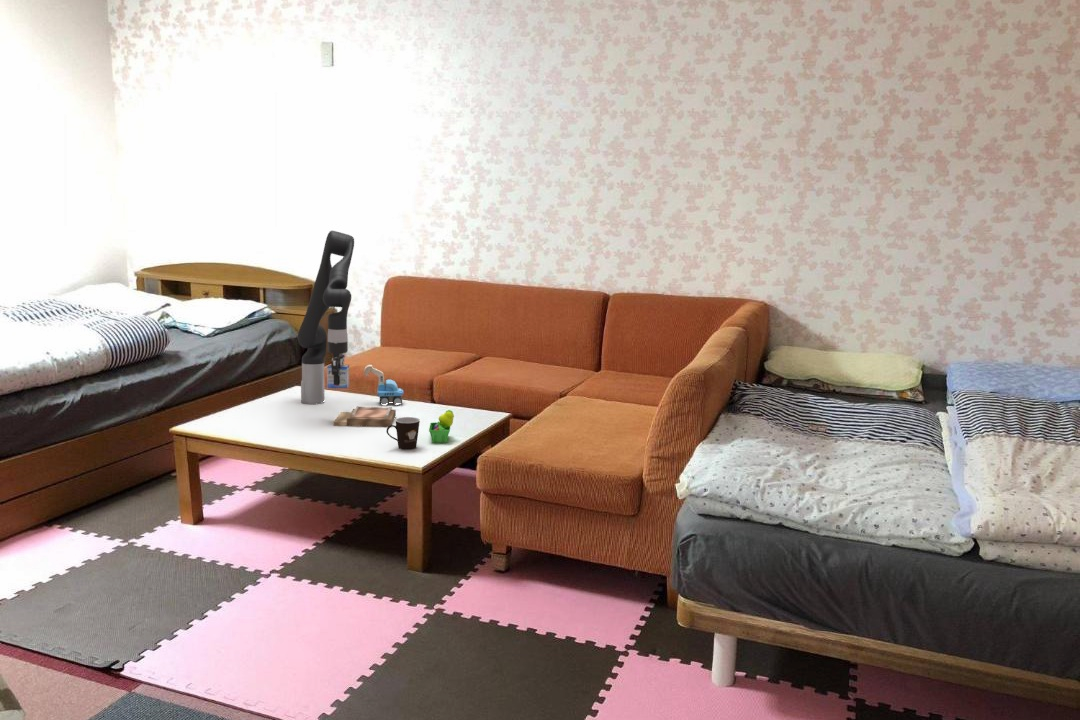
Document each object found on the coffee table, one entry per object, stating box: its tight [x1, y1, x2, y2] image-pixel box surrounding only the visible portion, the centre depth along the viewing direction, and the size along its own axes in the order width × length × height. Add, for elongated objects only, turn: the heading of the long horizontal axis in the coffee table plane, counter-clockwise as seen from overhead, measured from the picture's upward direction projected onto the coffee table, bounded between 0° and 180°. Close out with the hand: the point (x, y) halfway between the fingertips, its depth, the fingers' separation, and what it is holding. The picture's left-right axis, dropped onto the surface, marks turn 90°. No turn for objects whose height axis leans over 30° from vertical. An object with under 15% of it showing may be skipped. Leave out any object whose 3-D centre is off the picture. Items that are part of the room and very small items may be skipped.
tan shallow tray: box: [333, 405, 397, 428], centre depth 335 cm, size 22×16×4 cm
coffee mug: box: [386, 416, 420, 451], centre depth 301 cm, size 12×9×10 cm
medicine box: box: [326, 364, 350, 389], centre depth 329 cm, size 8×4×9 cm, turn 94°
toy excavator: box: [363, 364, 405, 405], centre depth 363 cm, size 9×17×17 cm, turn 100°
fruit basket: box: [428, 409, 455, 444], centre depth 312 cm, size 11×9×11 cm
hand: (338, 383), depth 330 cm, fingers closed on medicine box, 4 cm apart
